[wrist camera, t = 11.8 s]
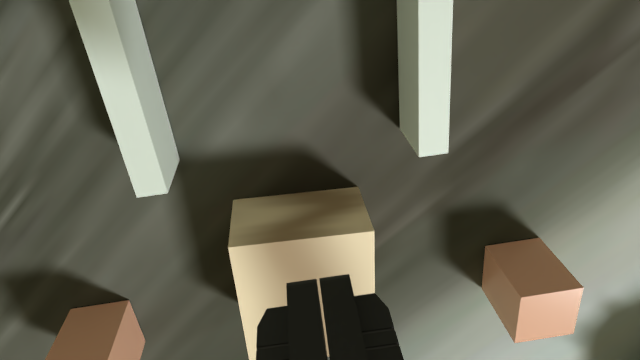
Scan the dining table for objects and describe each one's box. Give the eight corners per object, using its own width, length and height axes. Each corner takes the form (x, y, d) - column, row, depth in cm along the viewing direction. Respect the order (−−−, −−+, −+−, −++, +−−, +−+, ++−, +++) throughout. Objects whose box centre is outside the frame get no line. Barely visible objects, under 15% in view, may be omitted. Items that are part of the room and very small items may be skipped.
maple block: (357, 184, 23) (374, 231, 19) (359, 293, 26) (374, 350, 23) (233, 197, 22) (228, 247, 19) (252, 306, 26) (250, 366, 22)
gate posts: (539, 237, 25) (583, 287, 22) (532, 280, 27) (573, 333, 23) (70, 309, 24) (38, 373, 21) (90, 349, 26) (63, 415, 22)
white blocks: (427, -209, 16) (460, -237, 13) (425, 124, 21) (448, 153, 19) (49, -168, 15) (4, -187, 12) (152, 163, 21) (136, 197, 18)
